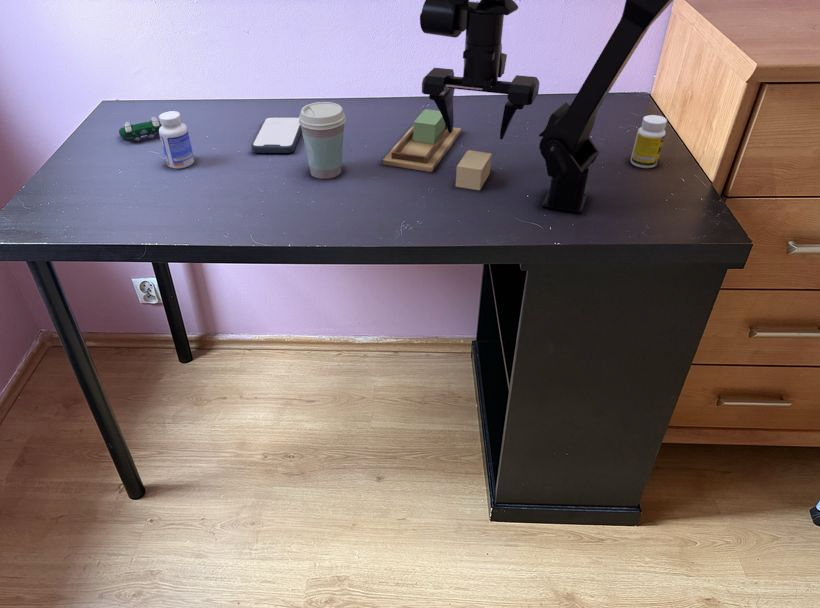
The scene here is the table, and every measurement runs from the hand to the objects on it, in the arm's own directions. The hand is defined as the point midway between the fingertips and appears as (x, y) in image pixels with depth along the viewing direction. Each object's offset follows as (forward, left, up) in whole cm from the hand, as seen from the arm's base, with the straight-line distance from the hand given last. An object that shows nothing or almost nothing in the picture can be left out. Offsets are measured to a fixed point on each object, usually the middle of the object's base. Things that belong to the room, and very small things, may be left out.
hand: (475, 135), depth 116 cm
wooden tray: (+10, +13, -8) cm, 18 cm away
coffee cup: (-7, +27, -8) cm, 29 cm away
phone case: (+4, +43, -8) cm, 44 cm away
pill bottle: (-13, +56, -8) cm, 58 cm away
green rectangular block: (+13, +13, -7) cm, 20 cm away
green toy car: (-5, +71, -8) cm, 71 cm away
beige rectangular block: (-1, 0, -8) cm, 8 cm away
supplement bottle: (+16, -28, -8) cm, 34 cm away
